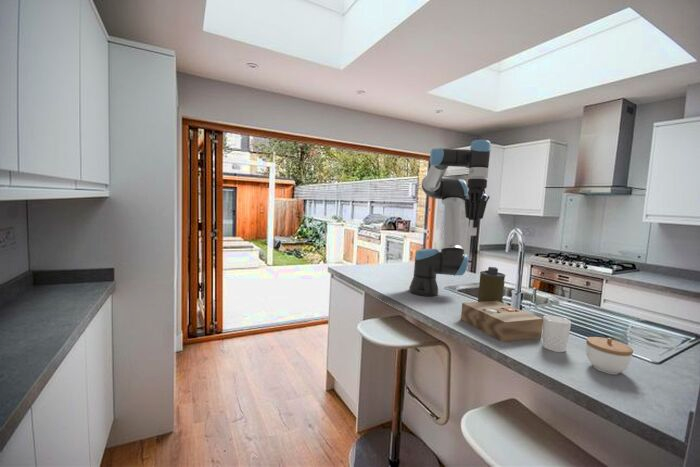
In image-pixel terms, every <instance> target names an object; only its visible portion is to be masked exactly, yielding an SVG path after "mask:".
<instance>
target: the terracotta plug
mask: <svg viewBox="0 0 700 467" xmlns="http://www.w3.org/2000/svg"><path fill="white" fill-rule="evenodd" d="M504 310H506V311H508V312H515V309H512V308H504Z"/></svg>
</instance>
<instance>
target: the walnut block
mask: <svg viewBox="0 0 700 467" xmlns="http://www.w3.org/2000/svg"><path fill="white" fill-rule="evenodd" d="M504 308H512V309H515V312H508V311H506V310H504ZM486 309H493V310H496V311H497V313H493V314H491V313H489V312H486ZM460 320H461V321H462V322H464V323H466V324H468V325H470V326H471V327H474V328H476V329H477V330H480V331H482V332H483V333H486V334H488V335H489V336H492V337H493V338H495V339H497V340H498V341H500V342H502V343H504V342H505V343H506V342H512V341H514V342H515V341H522V340H529V339H531V340H532V339H540V338H539V337H541V338H542V336H543V317H540V316H538V315H535V314H532V313H530V312H527V311H524V310H522V309H519V308H516V307H514V306H512V305H508V304H506V303H503V302H502V303H501V302H499V301H486V302H478V301H474V302H470V301H469V302H462V304H461V314H460Z"/></svg>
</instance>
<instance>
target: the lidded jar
mask: <svg viewBox="0 0 700 467" xmlns="http://www.w3.org/2000/svg"><path fill="white" fill-rule="evenodd" d="M585 341H586V345H585V351H586V356H587V359H588V361H589V362H590V364H591V365H592V366H593V367H592V368H594V369H595V370H596V371H597V370H598V371H599V372H602V373H605V374H608V375H619V374H620V373H623V372H624V371H626V370H627V369H628V368H629V366H630V364H631V361H632V357H633V353H634V349H633V348H632V347H631V346H629V345H628V344H626V343H624V342H620V341H618V340H614V339H612V338H610V337H607V338H606V337H601V336H588V337H587V338H586V340H585Z"/></svg>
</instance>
